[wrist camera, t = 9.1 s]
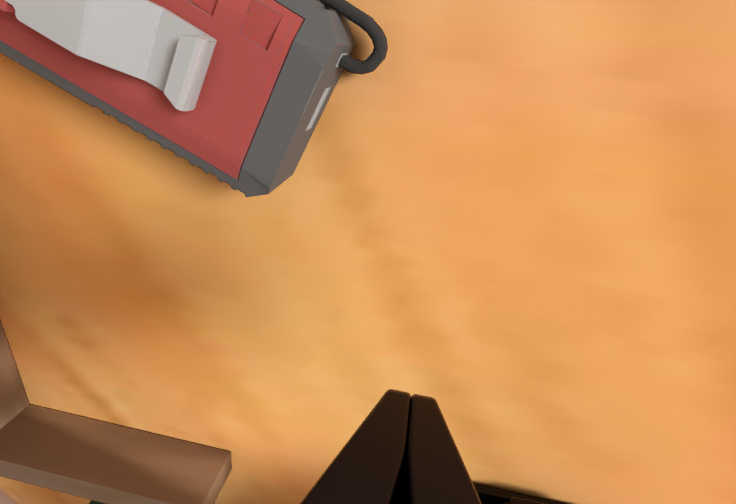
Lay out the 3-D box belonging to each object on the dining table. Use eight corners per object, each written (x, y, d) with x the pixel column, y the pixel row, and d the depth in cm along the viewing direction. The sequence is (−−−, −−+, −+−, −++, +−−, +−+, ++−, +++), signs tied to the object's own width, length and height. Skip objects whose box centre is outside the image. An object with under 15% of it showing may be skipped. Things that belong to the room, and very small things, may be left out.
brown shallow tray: (231, 468, 25) (200, 528, 22) (14, 416, 27) (-43, 465, 24) (166, -573, 9) (24, -880, 6) (-355, -550, 11) (-672, -783, 8)
